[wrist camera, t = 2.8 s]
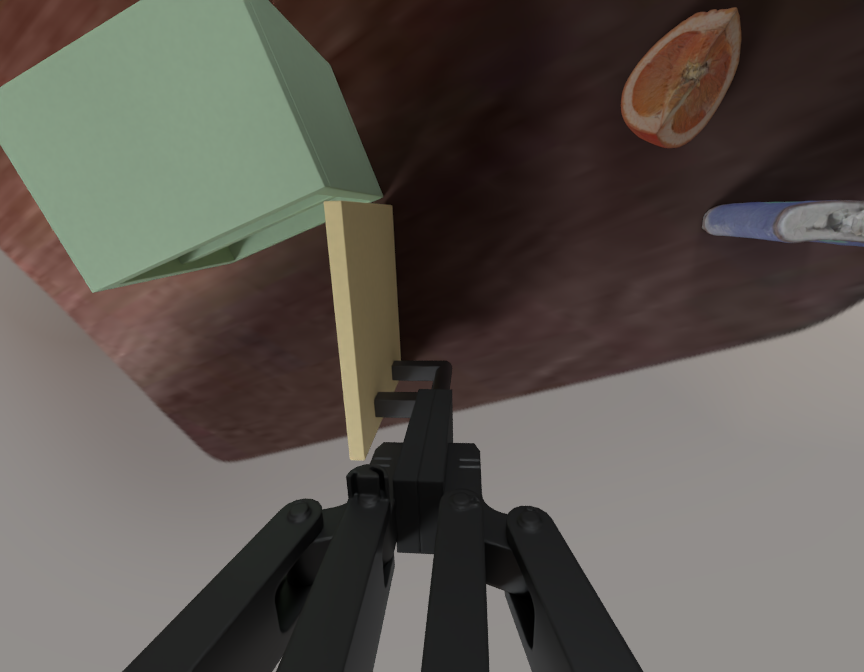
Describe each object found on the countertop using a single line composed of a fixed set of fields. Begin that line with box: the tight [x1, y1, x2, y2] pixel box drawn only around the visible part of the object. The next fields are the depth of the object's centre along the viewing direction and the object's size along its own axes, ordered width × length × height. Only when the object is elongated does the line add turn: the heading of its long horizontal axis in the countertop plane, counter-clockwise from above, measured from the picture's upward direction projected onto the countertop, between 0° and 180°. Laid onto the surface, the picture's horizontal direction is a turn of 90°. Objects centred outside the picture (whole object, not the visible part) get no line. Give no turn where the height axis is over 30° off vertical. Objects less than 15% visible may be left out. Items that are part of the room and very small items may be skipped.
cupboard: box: [0, 0, 383, 293], centre depth 28 cm, size 11×16×15 cm
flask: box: [702, 200, 864, 247], centre depth 28 cm, size 9×3×11 cm, turn 86°
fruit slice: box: [621, 8, 741, 148], centre depth 29 cm, size 8×7×5 cm
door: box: [324, 201, 452, 460], centre depth 30 cm, size 6×16×15 cm, turn 2°
